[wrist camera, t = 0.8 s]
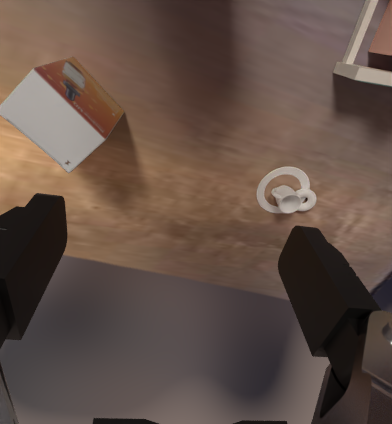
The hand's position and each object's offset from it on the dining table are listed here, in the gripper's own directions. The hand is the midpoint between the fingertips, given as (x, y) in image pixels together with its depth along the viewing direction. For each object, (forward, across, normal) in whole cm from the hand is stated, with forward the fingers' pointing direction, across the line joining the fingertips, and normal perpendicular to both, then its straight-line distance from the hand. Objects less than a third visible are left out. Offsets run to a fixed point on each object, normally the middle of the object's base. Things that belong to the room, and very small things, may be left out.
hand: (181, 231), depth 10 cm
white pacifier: (+29, -18, +15) cm, 38 cm away
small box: (+29, +11, +4) cm, 31 cm away
